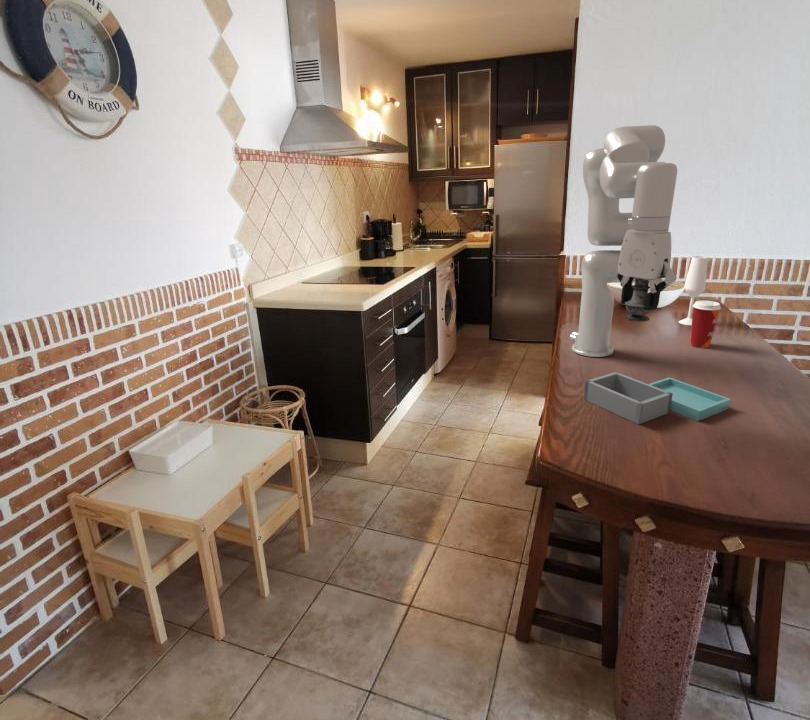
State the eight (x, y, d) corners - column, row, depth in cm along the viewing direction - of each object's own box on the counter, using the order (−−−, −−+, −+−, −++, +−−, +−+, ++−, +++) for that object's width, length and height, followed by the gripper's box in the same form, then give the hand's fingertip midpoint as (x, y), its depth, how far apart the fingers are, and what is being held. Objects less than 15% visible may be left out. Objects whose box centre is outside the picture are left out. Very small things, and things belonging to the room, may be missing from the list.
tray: (637, 396, 127) (638, 387, 126) (667, 385, 132) (669, 377, 131) (697, 421, 113) (699, 411, 113) (729, 408, 119) (731, 399, 118)
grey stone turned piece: (618, 315, 117) (624, 264, 113) (642, 314, 117) (649, 263, 113) (631, 322, 111) (638, 269, 107) (656, 321, 112) (664, 268, 107)
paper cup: (717, 349, 156) (725, 306, 151) (690, 348, 158) (698, 305, 153) (708, 341, 163) (716, 300, 158) (682, 340, 165) (689, 299, 160)
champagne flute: (681, 319, 188) (692, 255, 179) (701, 322, 183) (713, 256, 175) (675, 323, 183) (686, 257, 175) (695, 326, 179) (707, 259, 170)
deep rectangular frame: (583, 399, 126) (585, 381, 124) (613, 389, 131) (616, 371, 129) (638, 424, 113) (641, 404, 111) (669, 412, 118) (672, 393, 116)
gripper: (605, 223, 112) (596, 301, 119) (675, 229, 98) (661, 317, 105) (627, 220, 116) (618, 296, 122) (699, 226, 101) (684, 311, 108)
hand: (638, 305), depth 113 cm, fingers closed on grey stone turned piece, 5 cm apart
